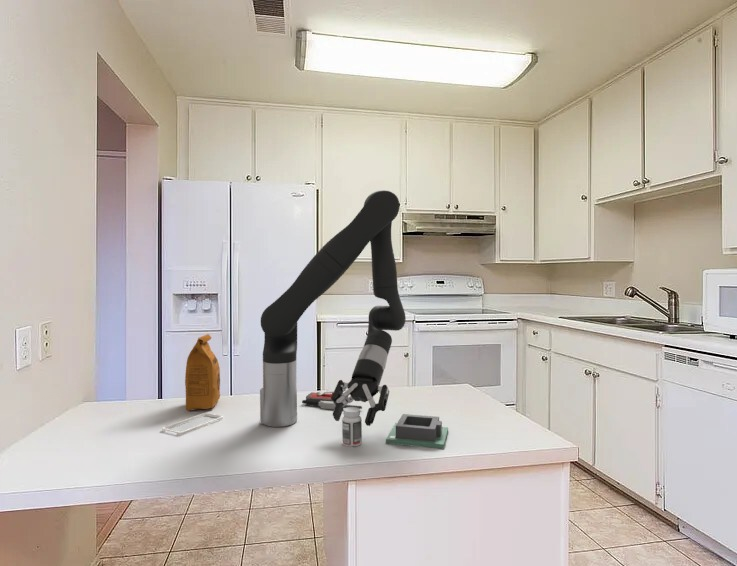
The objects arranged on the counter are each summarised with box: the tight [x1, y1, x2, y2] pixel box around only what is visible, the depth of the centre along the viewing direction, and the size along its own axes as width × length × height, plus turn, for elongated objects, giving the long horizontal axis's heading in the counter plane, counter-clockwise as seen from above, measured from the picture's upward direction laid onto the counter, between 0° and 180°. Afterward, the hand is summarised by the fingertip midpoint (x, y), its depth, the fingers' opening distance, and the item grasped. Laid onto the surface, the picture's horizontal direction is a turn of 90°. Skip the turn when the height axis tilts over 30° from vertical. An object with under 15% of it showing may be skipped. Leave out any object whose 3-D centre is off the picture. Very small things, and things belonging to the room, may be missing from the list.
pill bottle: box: [341, 407, 363, 447], centre depth 110 cm, size 5×5×8 cm
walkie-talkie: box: [301, 389, 363, 410], centre depth 141 cm, size 9×4×20 cm
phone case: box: [161, 412, 224, 436], centre depth 124 cm, size 7×1×15 cm
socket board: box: [385, 413, 449, 449], centre depth 114 cm, size 14×12×4 cm
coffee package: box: [184, 333, 221, 412], centre depth 141 cm, size 10×12×22 cm
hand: (351, 421), depth 110 cm, fingers open, 8 cm apart
